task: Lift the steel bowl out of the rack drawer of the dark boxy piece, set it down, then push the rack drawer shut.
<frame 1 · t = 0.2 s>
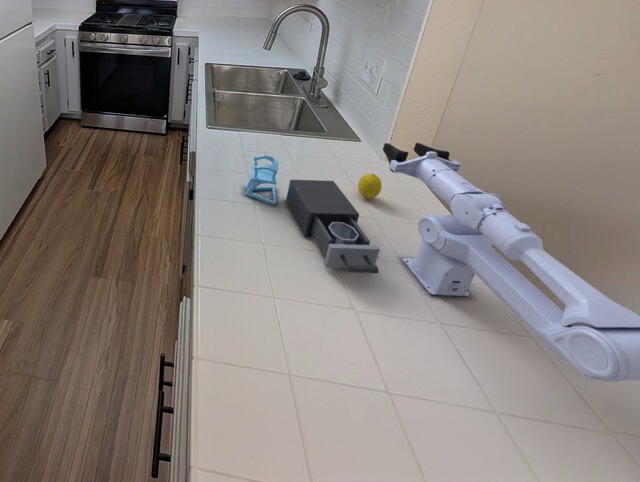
hand: (400, 146, 94), 21 cm above the worktop, tool horizontal, fingers open, 7 cm apart
lemon: (365, 198, 109), on the worktop
dark boxy piece: (316, 219, 101), on the worktop
rack drawer: (343, 244, 87), point 4 cm above the worktop, slide at 9.0 cm, touching steel bowl
steel bowl: (338, 246, 89), point 2 cm above the worktop, touching rack drawer
chair: (259, 195, 110), on the worktop
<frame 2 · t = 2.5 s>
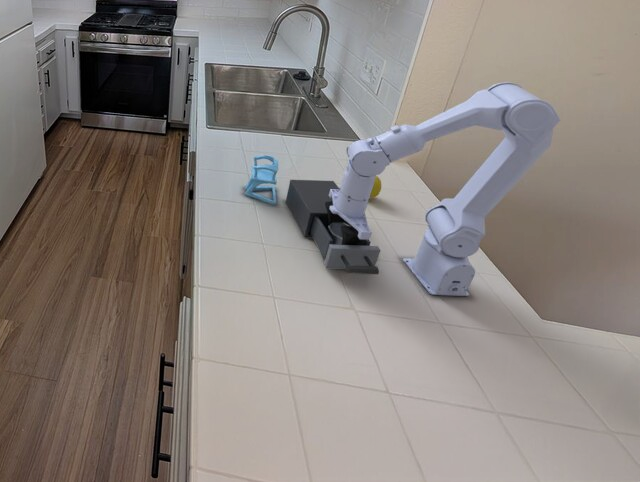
hand: (339, 241, 89), 4 cm above the worktop, tool pointing down, fingers closed on steel bowl, 6 cm apart
rack drawer: (343, 245, 87), point 4 cm above the worktop, slide at 9.2 cm, touching gripper, steel bowl
steel bowl: (338, 246, 89), point 2 cm above the worktop, touching gripper, rack drawer
everything else where it was.
when the fingers open (1 cm above the worktop, at t = 8.6 s): steel bowl stays where it is, on the worktop.
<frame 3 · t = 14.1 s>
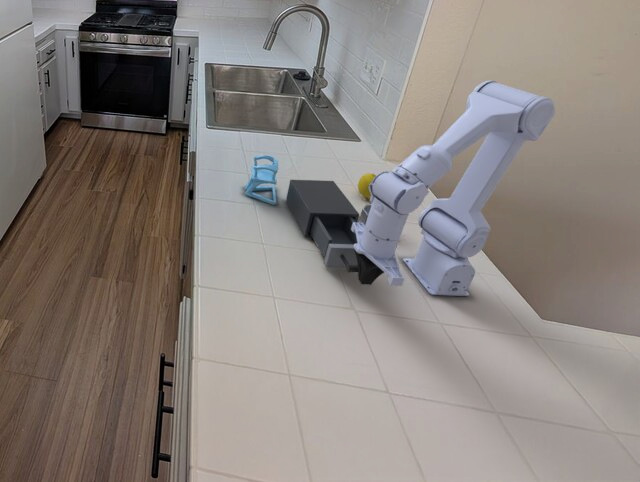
hand: (364, 282, 79), 3 cm above the worktop, tool pointing down, fingers closed
rack drawer: (343, 244, 87), point 4 cm above the worktop, slide at 8.9 cm, touching gripper
steel bowl: (371, 226, 98), on the worktop
everything else where it was.
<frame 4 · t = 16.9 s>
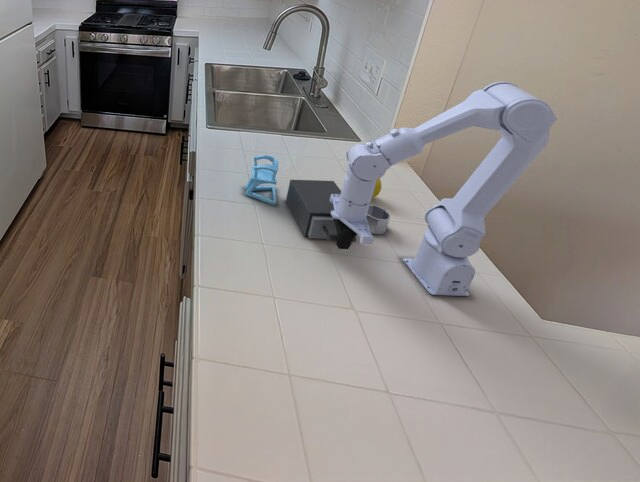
hand: (341, 246, 88), 3 cm above the worktop, tool pointing down, fingers closed, pressing on rack drawer
rack drawer: (326, 217, 96), point 4 cm above the worktop, slide at 0.0 cm, touching dark boxy piece, gripper
everything else where it was.
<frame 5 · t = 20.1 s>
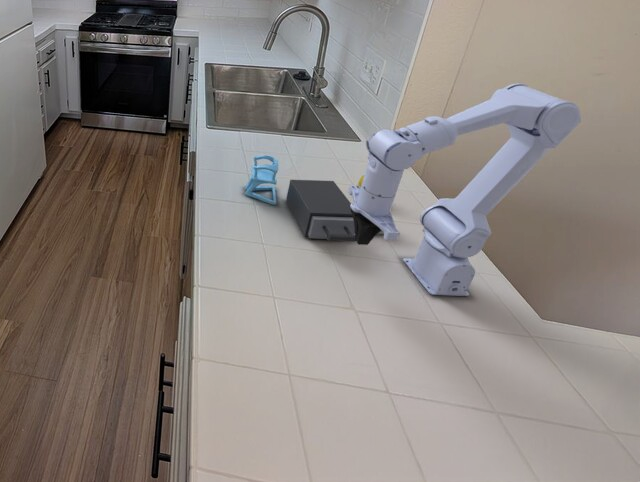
hand: (361, 242, 80), 9 cm above the worktop, tool pointing down, fingers closed
rack drawer: (326, 217, 96), point 4 cm above the worktop, slide at 0.0 cm, touching dark boxy piece
everything else where it was.
at the end: steel bowl inside the target area (0.2 cm from its centre), on the worktop; steel bowl tilted 0°; rack drawer slide at 0.0 cm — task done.
